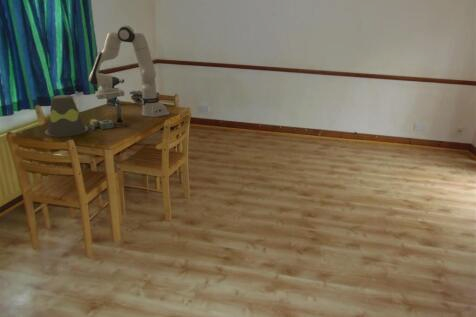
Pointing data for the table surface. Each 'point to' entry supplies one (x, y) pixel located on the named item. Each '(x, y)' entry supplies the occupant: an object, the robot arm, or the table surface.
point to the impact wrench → (113, 100)
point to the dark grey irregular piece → (138, 97)
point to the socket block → (103, 124)
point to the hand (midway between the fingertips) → (113, 96)
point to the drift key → (95, 122)
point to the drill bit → (118, 111)
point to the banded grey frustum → (64, 118)
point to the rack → (119, 123)
